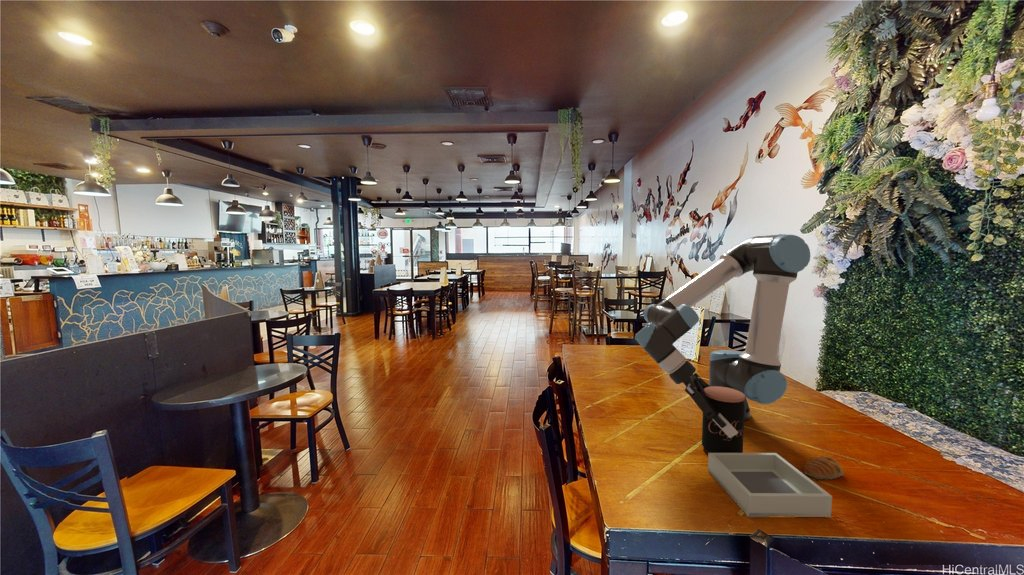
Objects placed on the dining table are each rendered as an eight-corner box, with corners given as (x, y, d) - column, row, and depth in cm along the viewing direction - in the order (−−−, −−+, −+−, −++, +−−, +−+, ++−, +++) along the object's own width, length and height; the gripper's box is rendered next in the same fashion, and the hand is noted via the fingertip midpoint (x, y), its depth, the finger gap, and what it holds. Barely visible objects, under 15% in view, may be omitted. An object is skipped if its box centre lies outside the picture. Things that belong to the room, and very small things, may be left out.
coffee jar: (703, 456, 107) (705, 396, 106) (699, 439, 117) (701, 384, 115) (746, 464, 103) (748, 401, 102) (738, 445, 113) (741, 388, 111)
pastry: (823, 485, 94) (824, 471, 93) (794, 471, 100) (795, 458, 100) (845, 476, 97) (846, 462, 97) (816, 463, 103) (817, 450, 103)
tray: (775, 470, 100) (776, 452, 99) (830, 517, 82) (832, 496, 82) (707, 470, 100) (708, 452, 100) (748, 517, 82) (749, 496, 82)
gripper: (673, 364, 126) (724, 418, 119) (661, 385, 106) (721, 451, 100) (691, 351, 123) (744, 406, 116) (682, 370, 103) (745, 437, 96)
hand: (734, 427), depth 108 cm, fingers closed on coffee jar, 10 cm apart
